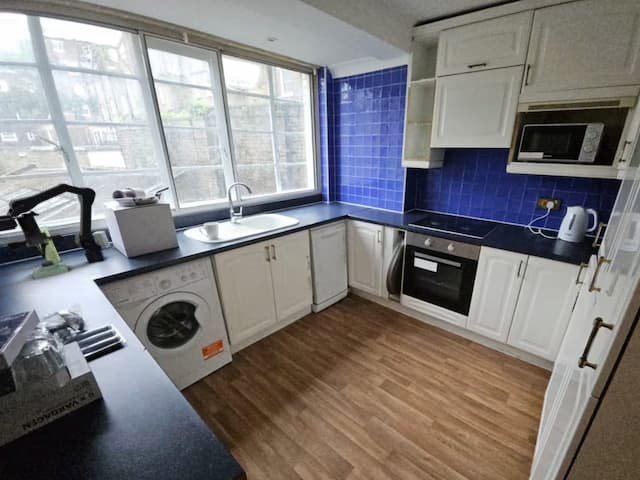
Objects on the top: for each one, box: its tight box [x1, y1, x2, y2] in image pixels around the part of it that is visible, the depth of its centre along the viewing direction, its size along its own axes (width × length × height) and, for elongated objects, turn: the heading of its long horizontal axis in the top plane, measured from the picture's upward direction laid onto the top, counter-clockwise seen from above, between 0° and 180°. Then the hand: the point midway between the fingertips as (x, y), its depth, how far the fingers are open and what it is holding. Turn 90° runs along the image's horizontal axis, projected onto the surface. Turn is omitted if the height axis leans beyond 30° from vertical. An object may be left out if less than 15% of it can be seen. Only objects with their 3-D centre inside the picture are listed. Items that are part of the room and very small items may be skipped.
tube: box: [38, 225, 61, 263], centre depth 157 cm, size 6×5×20 cm
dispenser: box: [32, 262, 69, 280], centre depth 147 cm, size 12×10×4 cm
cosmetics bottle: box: [92, 230, 111, 250], centre depth 180 cm, size 5×4×10 cm
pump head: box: [40, 260, 54, 267], centre depth 146 cm, size 4×4×2 cm
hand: (44, 257), depth 144 cm, fingers closed
